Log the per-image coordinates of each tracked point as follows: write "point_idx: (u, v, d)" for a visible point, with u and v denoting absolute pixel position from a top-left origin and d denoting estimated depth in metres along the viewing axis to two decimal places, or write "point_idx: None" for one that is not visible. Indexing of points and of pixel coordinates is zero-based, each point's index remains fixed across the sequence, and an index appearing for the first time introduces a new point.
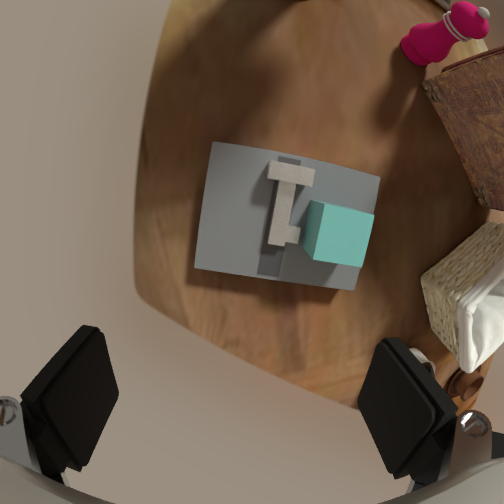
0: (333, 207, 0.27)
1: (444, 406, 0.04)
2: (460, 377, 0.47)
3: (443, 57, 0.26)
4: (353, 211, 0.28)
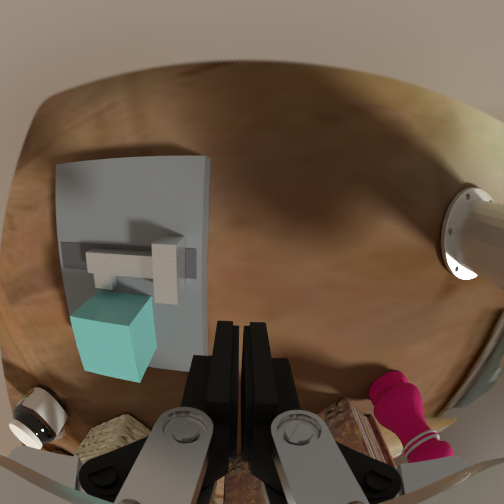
0: (128, 336, 0.20)
1: (261, 396, 0.05)
2: None
3: (381, 424, 0.29)
4: (133, 359, 0.20)
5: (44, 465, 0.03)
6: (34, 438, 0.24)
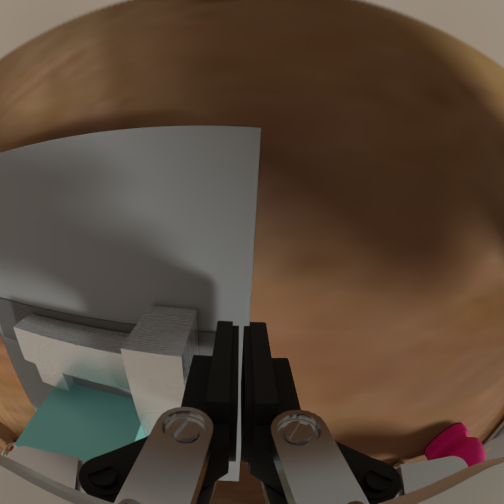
0: None
1: (261, 396, 0.05)
2: None
3: None
4: None
5: (44, 465, 0.03)
6: None
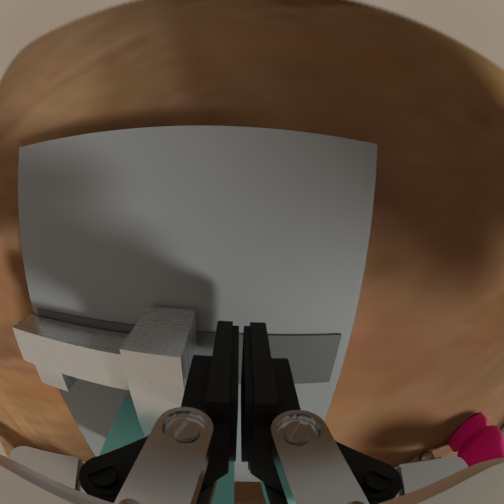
0: None
1: (261, 396, 0.05)
2: None
3: None
4: None
5: (44, 465, 0.03)
6: None
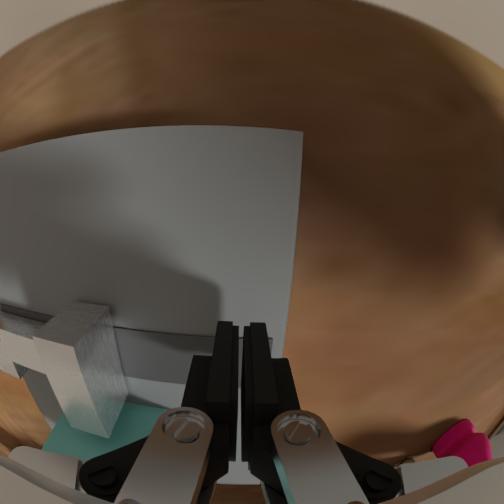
0: None
1: (261, 396, 0.05)
2: None
3: None
4: None
5: (44, 465, 0.03)
6: None
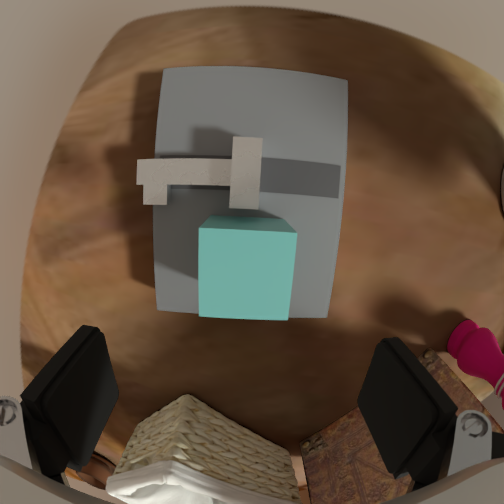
0: (293, 248, 0.17)
1: (444, 406, 0.04)
2: (97, 462, 0.36)
3: (466, 370, 0.26)
4: (290, 284, 0.18)
5: None
6: None
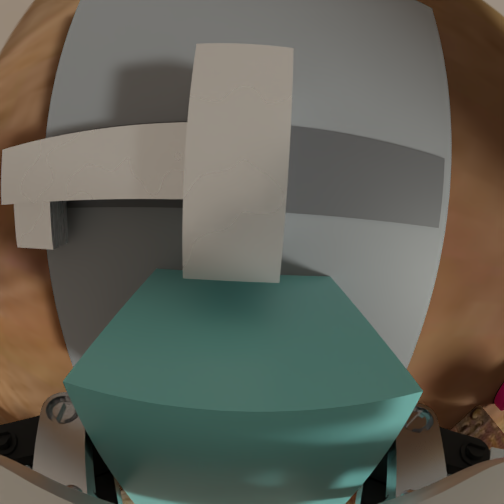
0: (395, 430, 0.04)
1: None
2: None
3: None
4: (359, 483, 0.04)
5: None
6: None
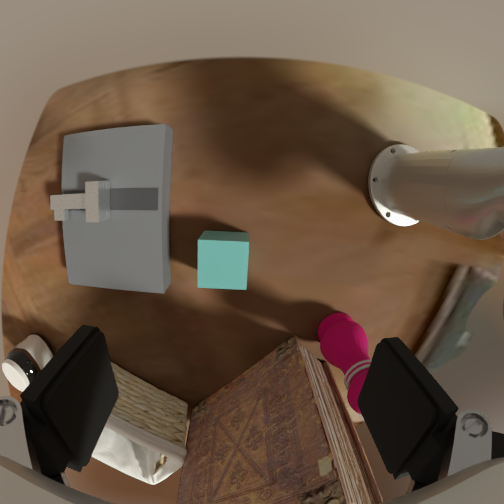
0: (247, 250, 0.32)
1: (444, 406, 0.04)
2: None
3: (327, 360, 0.37)
4: (246, 269, 0.33)
5: None
6: (23, 375, 0.32)
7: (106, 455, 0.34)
